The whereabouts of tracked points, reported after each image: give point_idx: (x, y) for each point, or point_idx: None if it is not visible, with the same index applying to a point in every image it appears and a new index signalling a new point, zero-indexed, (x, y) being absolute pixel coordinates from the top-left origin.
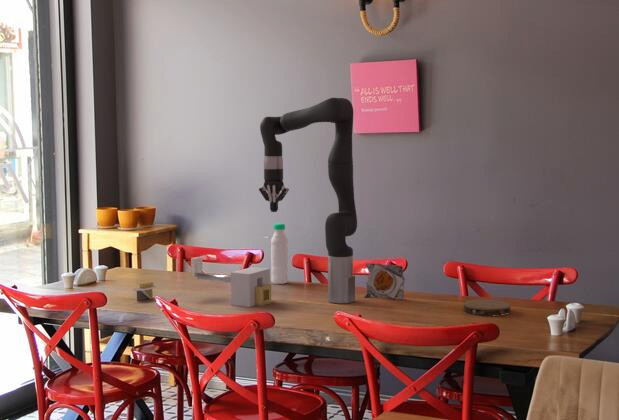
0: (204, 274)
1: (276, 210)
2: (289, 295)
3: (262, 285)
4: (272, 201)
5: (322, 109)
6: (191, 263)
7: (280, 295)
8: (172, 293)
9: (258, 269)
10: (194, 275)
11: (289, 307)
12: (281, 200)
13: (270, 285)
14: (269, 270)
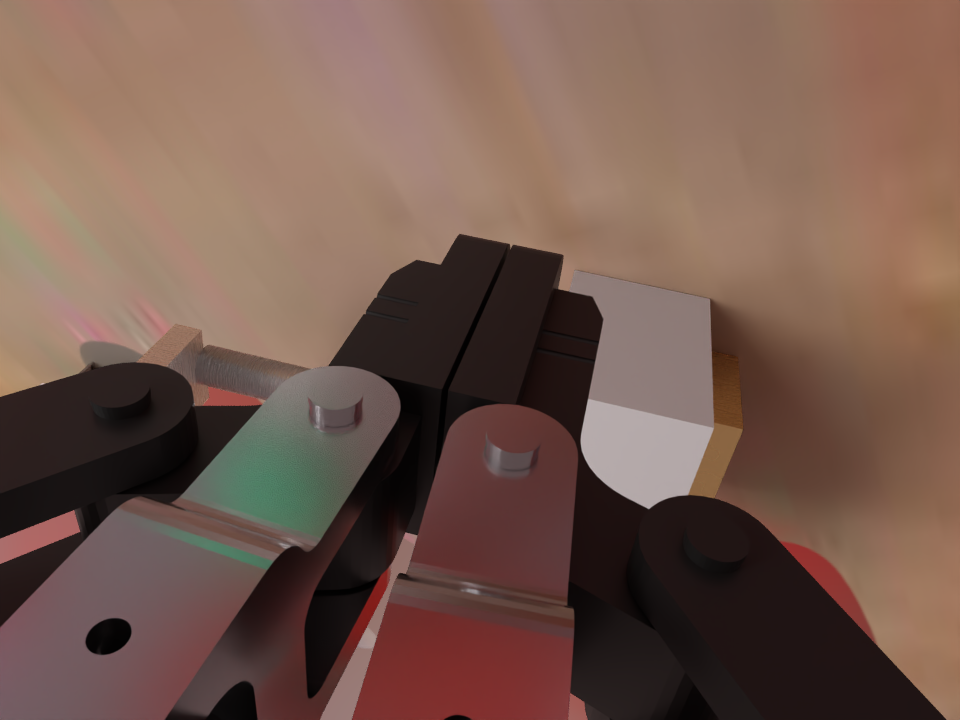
0: (251, 396)
1: (556, 290)
2: (808, 102)
3: (697, 475)
4: (398, 537)
5: None
6: None
7: (735, 123)
8: (88, 255)
9: (635, 470)
10: (203, 402)
11: (882, 444)
12: (732, 523)
13: (740, 431)
14: (711, 424)
